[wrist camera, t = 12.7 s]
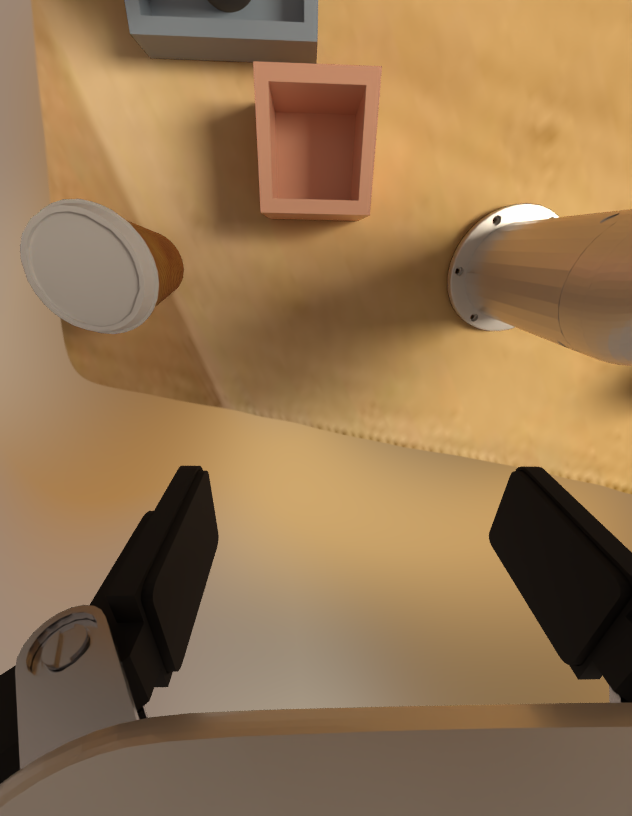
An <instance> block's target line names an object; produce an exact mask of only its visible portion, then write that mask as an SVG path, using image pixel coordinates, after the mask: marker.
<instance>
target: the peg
mask: <svg viewBox="0 0 632 816" xmlns="http://www.w3.org/2000/svg"><path fill="white" fill-rule="evenodd" d="M208 1H209V3H211V4H212V5H213V6H214V7H215V8H217V9H219V10H221V11H224V12H229V13H231V12H237V11H239V10H242V9H243V8H244V7H246V6H247V5H248V4H249V2H250V1H251V0H208Z"/></svg>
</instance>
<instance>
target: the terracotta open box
mask: <svg viewBox="0 0 632 816" xmlns="http://www.w3.org/2000/svg"><path fill="white" fill-rule="evenodd" d="M253 68H254V88H255V109H256V129H257V149H258V170H259V190H260V210H261V213H262V214H264V215H265V216H266V217H268V218H269V219H304V220H345V221H359V220H361V219H363V218H365V217H367V216H369V215H370V206H371V194H372V182H373V170H374V158H375V145H376V133H377V121H378V109H379V97H380V84H381V72H382V66H360V65H335V64H309V63H284V62H259V61H253Z"/></svg>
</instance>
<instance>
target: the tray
mask: <svg viewBox="0 0 632 816" xmlns="http://www.w3.org/2000/svg"><path fill="white" fill-rule="evenodd" d="M124 1H125V7H126V13H127V19H128V25H129V31H130V34H131V36H132V37H133V38H134V39H135V40H136V42H137V43H138V44H139V45H140V46H141V48H142V49H143V50H144V51H145V52H146V53H147V55H148V56H149V57H150V58H159V59H185V60H210V61H235V62H253V61H259V62H284V63H309V64H316V59H317V33H318V0H251V1H250V2H249V4H248V5H247V6H246V7H244V8H243V9H242V10H239V11H237V12H231V13H229V12H224V11H221V10H219V9H217V8H215V7H214V6H213V5H212V4H211V3H209V1H208V0H124Z"/></svg>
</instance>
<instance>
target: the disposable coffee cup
mask: <svg viewBox="0 0 632 816" xmlns="http://www.w3.org/2000/svg"><path fill="white" fill-rule="evenodd" d="M20 253H21V262H22V265H23V268H24V271H25V274H26V277H27V280H28V282H29V283H30V285H31V287H32V288H33V290H34V292H35V293H36V295H37V296H38V297H39V298H40V300H41V301H42V302H43V303H44V304H45V305H46V306H47V307H48V308H49V309H50V310H51V311H52V312H53V313H55V314H56V315H57V316H59V317H60V318H61V319H63V320H65V321H67V322H68V323H70V324H72V325H74V326H77V327H80V328H83V329H86V330H91V331H95V332H99V333H107V334H117V333H124V332H127V331H130V330H133V329H135V328H136V327H138V326H140V325H141V324H142V323H143V322H144V321H145V320H146V319H147V318H148V317H149V316H150V314H151V313H152V311H153V310H154V307H155V306H156V305H158V304H159V303H160V302H161V301H162V300H164V299H165V298H166V297H167V296H168V295H170V294H171V293H172V292H173V291H175V290H176V289H177V288H178V287H179V285H180V283H181V281H182V278H183V271H184V268H183V262H182V259H181V256H180V254H179V252H178V250H177V249H176V247H175V246H174V245H173V243H172V242H171V241H170V240H168V239H167V238H166V237H164V236H163V235H161V234H159V233H156V232H153V231H151V230H148V229H146V228H144V227H141V226H139V225H136V224H134V223H132V222H129V221H126V220H125V219H123V218H122V217H121V216H119V215H118V214H117V213H115V212H114V211H113V210H111V209H109V208H107V207H105V206H102V205H100V204H98V203H95V202H91V201H87V200H82V199H63V200H60V201H57V202H54V203H51V204H49V205H48V206H46V207H45V208H43V209H42V210H40V212H39V213H37V214H36V215H35V216H33V217H32V218H31V219H30V220H29V222H28V224H27V226H26V227H25V229H24V231H23V233H22V238H21V245H20Z"/></svg>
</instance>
